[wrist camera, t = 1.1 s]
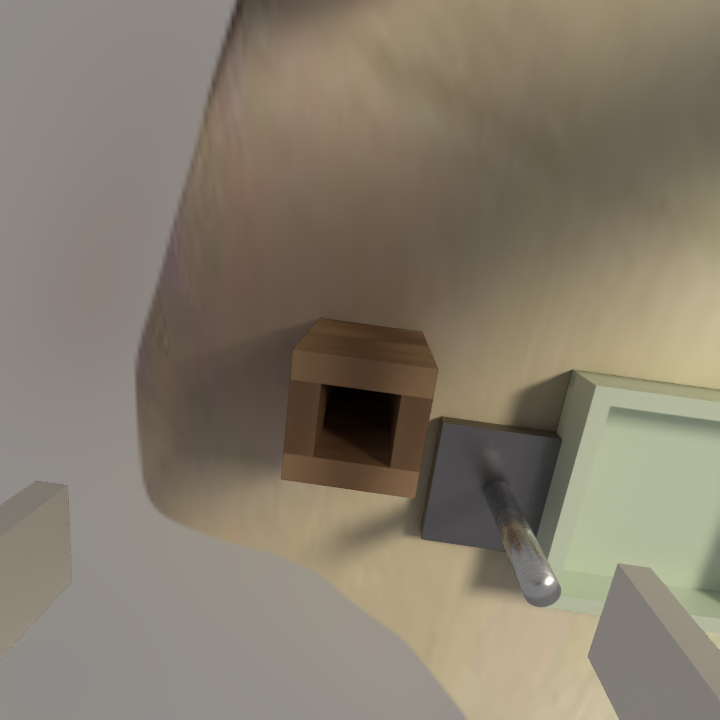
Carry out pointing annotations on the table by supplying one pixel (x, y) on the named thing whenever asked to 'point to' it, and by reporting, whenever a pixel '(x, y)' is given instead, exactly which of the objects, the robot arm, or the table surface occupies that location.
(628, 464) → the tray
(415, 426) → the bore block
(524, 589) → the pin
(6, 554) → the robot arm
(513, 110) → the table surface
